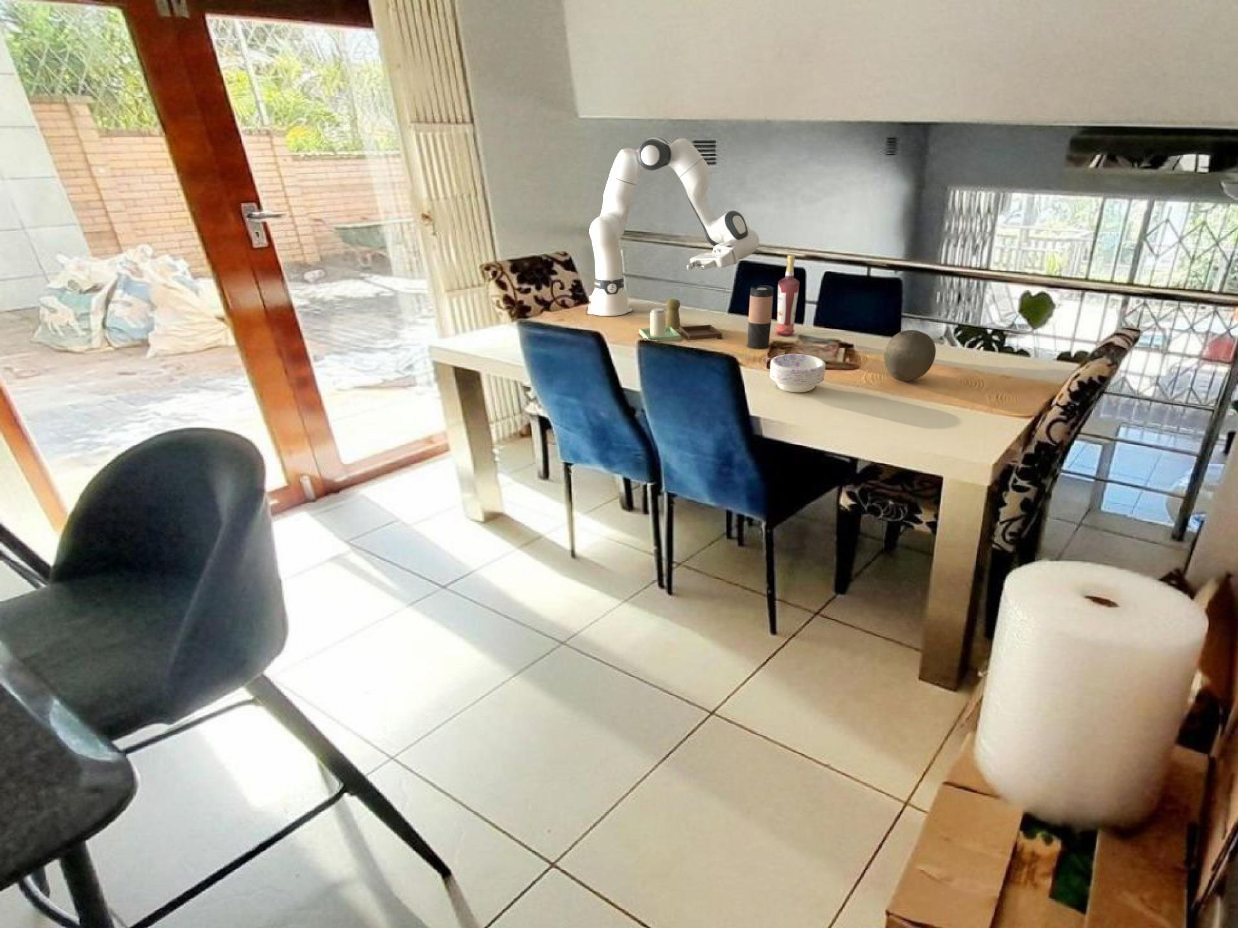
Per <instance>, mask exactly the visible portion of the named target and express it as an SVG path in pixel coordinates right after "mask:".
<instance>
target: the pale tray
mask: <svg viewBox="0 0 1238 928" xmlns="http://www.w3.org/2000/svg"><path fill="white" fill-rule="evenodd" d="M638 330H639V331H638V332H639V334H640V336H641V337H642V338H643V339H644V338H647V339H650V340H657V341H658V342H669V341H682V335H681V334H680V332H678V331H677V330H676V329H675V330H674V329H673V328H672V327H665V336H662V337H650V327H648V328H647V327H646V328H639V329H638Z"/></svg>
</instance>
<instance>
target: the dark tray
mask: <svg viewBox="0 0 1238 928" xmlns="http://www.w3.org/2000/svg"><path fill="white" fill-rule="evenodd" d="M678 331H679V333H681V334H682V335H683V336H684V337H685V338H686V339H688V341H693V340H707V339H717V340H722V339H723V333H722V332H721V331H720V330H718V329H717V328H716V327H714V326H713V325H712V324H701V325H699V324H698V325H686V326H680V327H679V329H678Z"/></svg>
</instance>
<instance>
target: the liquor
mask: <svg viewBox="0 0 1238 928" xmlns="http://www.w3.org/2000/svg"><path fill="white" fill-rule="evenodd" d="M795 260H796V255H795V254H787V255H786V269H785V276H784V277H783V278H781V279H780V280H778V282H777V283H778V284H777V311H776V312H777V313H776V314H777V315H776V328H775V333H776V334H777V335H778V336H782V337H788V336H791V335H792V334H794V333H795V329H794V327H795V319H796V311H797V303H798V299H799V289H800V281H799V280H798V279H796V277H795V276H794V274H795V272H794V270H795V262H796V261H795Z"/></svg>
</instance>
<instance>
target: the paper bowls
mask: <svg viewBox="0 0 1238 928" xmlns="http://www.w3.org/2000/svg"><path fill="white" fill-rule="evenodd" d="M826 365H827V364H826V362H825V361H824V360H823V359H821V358H820V357H818V356H814V355H809V354H803V353H788V354H787V353H785V354H780V355H777V356H775V357H773V358H771V360H770V367H769V368H770V371H769V378H770V379H771V380H772V381H773V382H775V384H776V385H777V387H778V388H779V389H781V390H783V391H786V392H789V393H806V392H811V391H812V390H814V389H815V387H816V386H817V385H818V384H821V383H822V382H824V381H825V372H826V367H827V366H826Z"/></svg>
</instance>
